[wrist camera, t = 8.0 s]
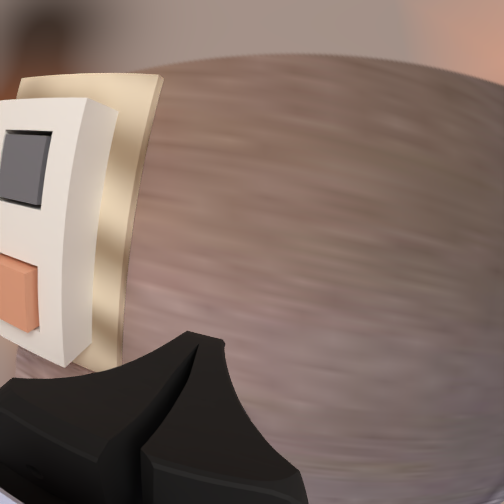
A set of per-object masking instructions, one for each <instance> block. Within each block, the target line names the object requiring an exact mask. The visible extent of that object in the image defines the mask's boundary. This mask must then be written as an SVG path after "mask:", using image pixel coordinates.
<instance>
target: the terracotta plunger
mask: <svg viewBox="0 0 504 504" xmlns="http://www.w3.org/2000/svg"><path fill="white" fill-rule="evenodd" d="M0 319H1V320H3V321H5V322H7V323H9V324H11V325H13V326H15V327H17V328H19V329H21V330H23V331H25V332H27V333H29V332H30V331H32V330H33V329H35V328H36V327H38V326H39V308H38V266H35V265H32V264H30V263H27V262H24V261H21V260H19V259H16V258H13V257H11V256H8V255H5V254H3V253H1V254H0Z"/></svg>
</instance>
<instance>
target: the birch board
mask: <svg viewBox="0 0 504 504" xmlns="http://www.w3.org/2000/svg"><path fill="white" fill-rule="evenodd" d="M163 81H164V79H163V78H162V77H161V76H160V75H155V74H132V73H89V74H88V73H87V74H66V75H65V74H64V75H50V76H39V77H30V78H22V80H21V83H20V87H19V90H18V94H17V97H16V99H31V98H68V97H77V98H89V99H92V100H94V101H96V102H99V103H101V104H103V105H106V106H108V107H110V108H112V109H115V110H117V111H119V113H118V117H117V121H116V125H115V130H114V134H113V139H112V143H111V148H110V153H109V158H108V163H107V169H106V175H105V180H104V187H103V193H102V200H101V207H100V214H99V222H98V231H97V240H96V251H95V263H94V278H93V299H92V343H91V344H90V345H89V346H88V347H87V348H86V349H85V350H84V351H82V352H81V353H80V354H79V355H78V356H77V357H76V358H75V359H74V360H73V361H72V363H75V364H77V365H80V366H82V367H84V368H87V369H89V370H92V371H94V372H101V371H105V370H109V369H112V368H115V367H118V366H121V365H122V342H123V322H124V306H125V294H126V282H127V272H128V263H129V254H130V246H131V238H132V231H133V224H134V217H135V210H136V204H137V198H138V192H139V186H140V181H141V175H142V170H143V165H144V160H145V155H146V150H147V146H148V141H149V137H150V132H151V128H152V124H153V119H154V115H155V111H156V107H157V103H158V99H159V96H160V92H161V88H162V85H163ZM41 136H50V137H52V135H41Z"/></svg>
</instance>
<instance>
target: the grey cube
mask: <svg viewBox="0 0 504 504" xmlns="http://www.w3.org/2000/svg"><path fill="white" fill-rule="evenodd" d="M50 142H51V137H50V136H39V135H18V134H6V136H5V141H4V147H3V153H2V159H1V166H0V197H4V198H8V199H12V200H17V201H21V202H26V203H30V204H34V205H40V204H41V203H42V194H43V186H44V178H45V171H46V165H47V159H48V153H49V148H50Z"/></svg>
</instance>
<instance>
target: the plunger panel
mask: <svg viewBox="0 0 504 504" xmlns="http://www.w3.org/2000/svg"><path fill="white" fill-rule="evenodd" d="M118 113H119V111H117V110H115V109H112V108H110V107H108V106H106V105H103V104H101V103H99V102H96V101H94V100H92V99H89V98H77V97H68V98H31V99H16V100H2V101H0V166H1V159H2V153H3V147H4V141H5V136H6V134H18V135H39V136H41V135H52V137H51V142H50V148H49V153H48V159H47V165H46V171H45V178H44V186H43V194H42V203H41V204H40V205H34V204H30V203H26V202H21V201H17V200H12V199H8V198H4V197H0V254H1V253H3V254H5V255H8V256H11V257H13V258H16V259H19V260H21V261H24V262H27V263H30V264H32V265H35V266H38V308H39V326H38V327H36V328H35V329H33V330H32V331H30V332H29V333H27V332H25V331H23V330H21V329H19V328H17V327H15V326H13V325H11V324H9V323H7V322H5V321H3V320H1V319H0V335H1V336H3V337H4V338H6V339H8V340H10V341H12V342H13V343H15V344H17V345H19V346H21V347H23V348H25V349H27V350H29V351H31V352H32V353H34V354H36V355H38V356H41V357H43V358H45V359H47V360H49V361H51V362H53V363H55V364H57V365H60V366H62V367H64V368H65V367H66V366H67V365H68V364H70V363H71V362H72V361H73V360H74V359H75V358H76V357H77V356H78V355H79V354H80V353H81V352H82V351H84V350H85V349H86V348H87V347H88V346H89V345H90V344H91V343H92V299H93V278H94V263H95V251H96V240H97V231H98V222H99V214H100V207H101V200H102V193H103V187H104V180H105V175H106V169H107V163H108V158H109V153H110V148H111V143H112V139H113V134H114V130H115V125H116V121H117V117H118Z"/></svg>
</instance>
